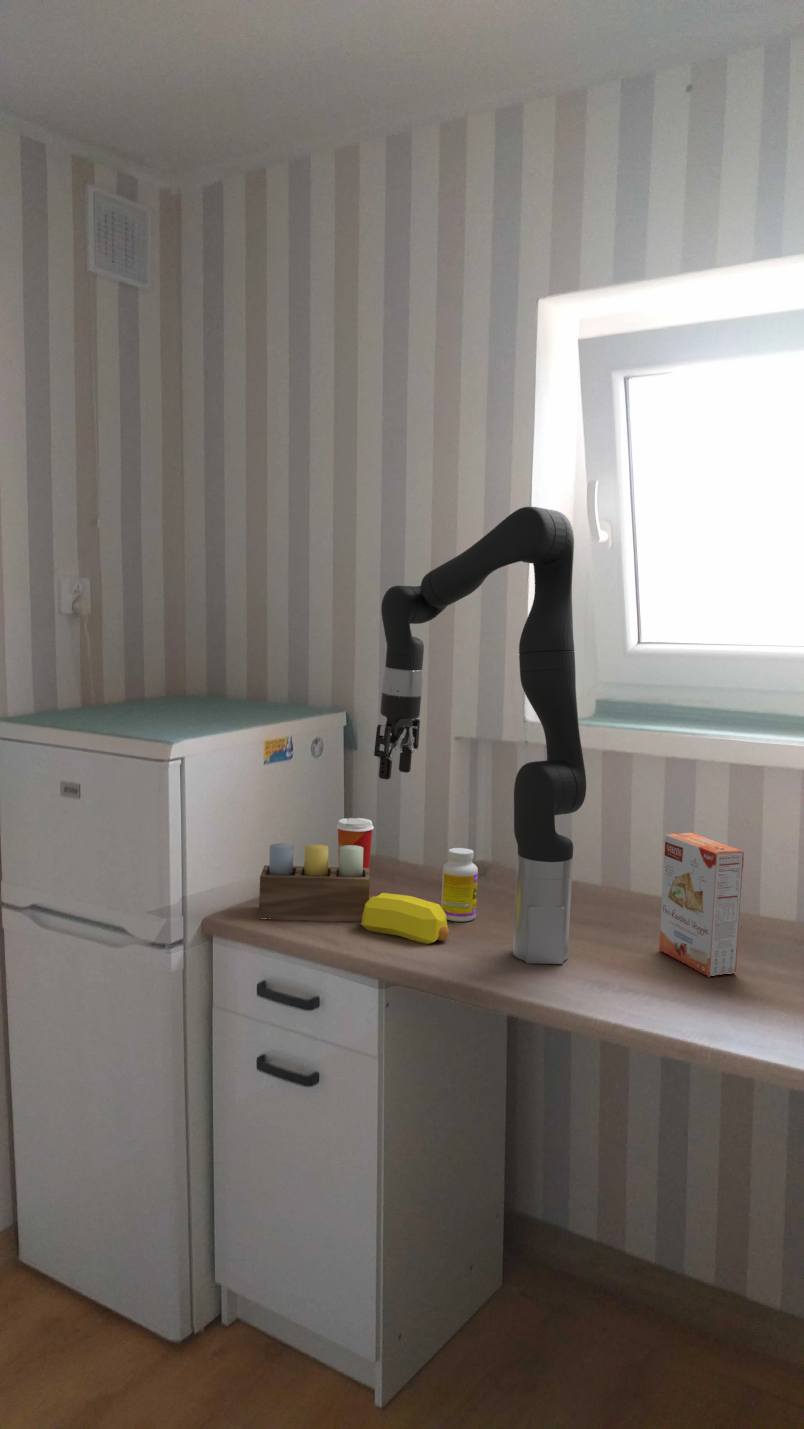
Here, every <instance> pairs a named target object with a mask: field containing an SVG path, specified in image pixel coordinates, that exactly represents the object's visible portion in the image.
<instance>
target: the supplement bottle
mask: <svg viewBox="0 0 804 1429" xmlns="http://www.w3.org/2000/svg"><path fill="white" fill-rule="evenodd" d="M474 854H475V852H474V850H473V849H469V848H465V847H453V848H450V849H448V853H447V856H448V858H449V861H447V862H445V864H444V865H443V866H442V878H441V880H442V881H441V884H442V885H441V904H440V906H441V908H442V909H443V911H444V912H445V914H446V918H447V921H452V922H459V923H461V922H469V921H473V920H474V919H475V918H476V916H477V904H478V902H477V901H478V876H479V875H478V874H479V870H478V866H477V865H476V864H475V863H473V859H474V857H475V856H474Z"/></svg>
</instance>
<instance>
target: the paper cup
mask: <svg viewBox="0 0 804 1429" xmlns="http://www.w3.org/2000/svg"><path fill="white" fill-rule="evenodd" d="M336 829H337V843H338V844H337V845H338V846H337V847H338V849H337V850H338V851H337V852H338V859H339V858H340V847H341V846H346V845H355V846H361V847H363V868H369V869H370V859H371V848H372V837H373V830H374V829H375V826H374V825H373V821H372V819H368V818H361V817H356V818H354V817H349V818H347V817H346V818H341V819H339V820H338V821H337V824H336Z"/></svg>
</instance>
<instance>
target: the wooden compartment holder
mask: <svg viewBox="0 0 804 1429" xmlns="http://www.w3.org/2000/svg"><path fill="white" fill-rule="evenodd" d="M370 877H371V876H370V867H369V868H363V877H339V866H337V867H336V866H328V876H304V865H302V866H301V865H298V866H297V865H293V875H269V865H264V866H263V868H262V871H261V873H260V875H259V905H258V906H259V910H258V912H259V913H258V914H259V915H258V919H259V920H262V919H261V918H267V919H269V918H271V919H288V920H287V921H305V920H306V921H308V922H309V921H311V922H312V921H313V922H315V921H316V922H317V921H318V922H319V921H320V922H348V923H349V922H354V923H355V922H357V923H358V922H359V923H362V913H363V911H364V907H365V903H366V902H367V901H368V900H369V899H370Z"/></svg>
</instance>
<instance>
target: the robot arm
mask: <svg viewBox="0 0 804 1429" xmlns="http://www.w3.org/2000/svg"><path fill="white" fill-rule="evenodd" d="M574 537H575V534H574V529H573V526H572V523H571V521H570V520H569V518H568V517H567V515H565V514H564V513H562V511H561V512H560V511H557V510H553V509H549V508H543V507H538V506H523V507H520V508H518V509H516V510H514V512H512V513H511V514H509V515H508V516H507V517H505V518H504V519H503V520H501V522H500V523H498V524H497V525H496V526H495V527H493V529H492V530H490V531H489V532H487V533H486V534H484V536H482V537H481V538H480V539H479V540H478V541H477V542H475V543H474V544H473V545H471V546H470V547H469V548H467V549H466V550H464V551H463V552H461V553H460V554H458V555H456V556H455V557H453V558H451V559H449V560H448V561H446V562H444V563H443V564H441V565H440V566H437V567H435V568H434V569H431V570H429V572H428V573H426V574H425V575H424V576H423V578H422V580H421V584H420V585H416V586H415V585H414V586H413V585H393V586H391V587H390V588H388V589H387V590H386V591H385V593H384V595H383V597H382V601H381V607H380V610H381V611H380V612H381V619H382V624H383V629H384V630H383V631H384V637H385V642H386V654H385V666H384V672H383V676H382V677H383V678H382V685H381V686H382V687H381V688H382V689H381V696H380V698H381V699H380V712H379V713H380V714H381V716H383V717H385V718H386V721H385V724H383V725H382V724H377V726H376V733H375V743H374V751H373V755H374V757H377V758H378V759H379V767H378V768H379V769H378V770H379V771H378V777H379V778H380V779H383V780H390V779H391V777H392V766H393V757H394V756H395V752H397V751H399V749H400V752H399V761H398V771H399V772H401V773H410V772H411V770H412V769H411V768H412V758H413V757H412V754H414V753H415V749H416V750H418V748H419V742H420V724H421V721H420V719H419V717H420V715H421V714H420V713H421V703H422V691H423V667H424V666H423V664H424V653H425V645H424V642H423V640H422V639H420V638H418V637H416V636H413V634H412V630H411V624H412V625H416V624H417V625H418V624H419V625H420V624H424V623H427V622H430V621H432V620H433V619H435V618H436V617H437V616H439V615H440V614H441V613H443V611H444V610H445V609H446V608H448V606H450V605H452V604H455V603H456V602H458V601H459V600H462V599H464V598H465V597H467V596H469V595H471V594H472V593H473V592H475V591H476V590H477V589H478V588H479V587H480V586H482V584H483V583H484V581H485V580H486V579H487V578H488V577H489V575H490V574H492V573H494V572H495V571H497V570H499V569H500V568H504V567H506V566H509V565H512V564H515V563H520V562H523V563H527V564H532V566H533V573H534V597H533V600H532V605H531V608H530V611H529V614H527V615H528V616H527V618H526V620H525V623H524V625H523V629H522V630H521V634H520V638H519V644H518V661H519V677H520V682H521V683H520V684H521V687H522V689H523V692H524V694H525V697H526V698H527V700H528V702H529V704H530V706H531V707H532V709H533V711H534V713H535V714H536V715H537V718H538V720H539V722H540V724H541V727H542V729H543V733H544V739H545V745H546V760H538V761H537V760H536V761H529V762H527V763H525V764H523V765H521V767H520V768H519V770H518V771H517V773H516V775H515V776H516V777H515V779H514V780H515V781H514V785H513V833H514V838H515V842H516V844H517V845H516V846H517V851H516V852H517V853H516V855H517V857H516V858H517V859H516V874H515V876H516V877H515V879H516V880H515V897H514V917H513V918H514V920H513V943H512V944H513V945H512V954H513V956H515V958H517V959H519V960H522V961H524V962H525V964H545V965H548V964H552V965H563V964H564V961H566V960H567V959H568V956H569V939H570V937H569V936H570V935H569V934H570V919H571V916H570V915H571V914H570V913H571V897H572V880H573V878H572V875H573V863H574V862H573V859H574V858H573V857H574V843H573V841H572V840H571V839H570V838H569V837H567V836H565V835H562V834H559V833H558V832H557V831H556V820H555V819H556V817H555V816H559V815H566V814H572V813H575V812H577V811H578V810H580V808H581V807H582V805H583V804H584V802H585V799H586V795H587V775H586V766H585V761H584V754H583V748H582V741H581V735H580V727H579V726H580V725H579V717H578V716H579V715H578V713H579V712H578V703H577V700H578V699H577V689H576V688H577V683H576V682H577V681H576V676H577V675H576V653H575V643H574V642H575V641H574V628H573V627H574V626H573V625H574V624H573V623H574V622H573V596H572V595H573V574H574V573H573V571H574V569H573V567H574V552H575V550H574V549H575V538H574Z"/></svg>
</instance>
